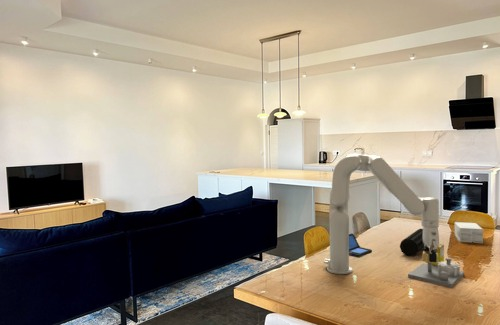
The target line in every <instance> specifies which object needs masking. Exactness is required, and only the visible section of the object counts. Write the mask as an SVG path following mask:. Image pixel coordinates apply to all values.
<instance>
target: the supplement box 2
mask: <svg viewBox="0 0 500 325" xmlns="http://www.w3.org/2000/svg"><path fill="white" fill-rule="evenodd" d="M454 237H456V239H457V241H458V242H460V243H472V242H473V244H474V243H477V244H483V243H484V228H482V227H481V226H480V225H479V224H477V222H461V221H460V222H459V221H454Z"/></svg>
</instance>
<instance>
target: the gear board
mask: <svg viewBox="0 0 500 325" xmlns="http://www.w3.org/2000/svg"><path fill="white" fill-rule="evenodd" d="M452 260H453V259H452V258H451V257H445V261H444V262H443V261H441V262H438V266H433V265H432V263H421V264H420V265H419V266H417V267H416V268H414V269H413V270H412V271H410V272H409V273H407V277H408V278H410V279H415V280H419V281H421V282H422V281H424V282H428V283H431V284H435V285H439V286H444V287H449V288H453V287H454V286H455V285H456V284H457V283H458V282H459V280H461V279H462V278H463V277H464V275H465V271H461V265H460V264H457V263H456V262H454V261H453V262H452Z"/></svg>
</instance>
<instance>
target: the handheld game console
mask: <svg viewBox="0 0 500 325" xmlns="http://www.w3.org/2000/svg"><path fill="white" fill-rule="evenodd" d="M371 252H373V250H372V249H371V248H366V247H362V246H360V244H359V243H358V241H357V238H356V236H355V234H354V233H349V256H351V257H352V256H353V257H357V258H359V257H362V256H364V255H368V254H370V253H371Z"/></svg>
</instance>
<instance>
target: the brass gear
mask: <svg viewBox="0 0 500 325" xmlns="http://www.w3.org/2000/svg"><path fill="white" fill-rule="evenodd" d="M429 253H430V251H426V252H425V251H424V250H423V251H422V255H421V256H422V257H421V258H422V262H425V264H428V263H433V264H434V263H438V253H437V262H429Z"/></svg>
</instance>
